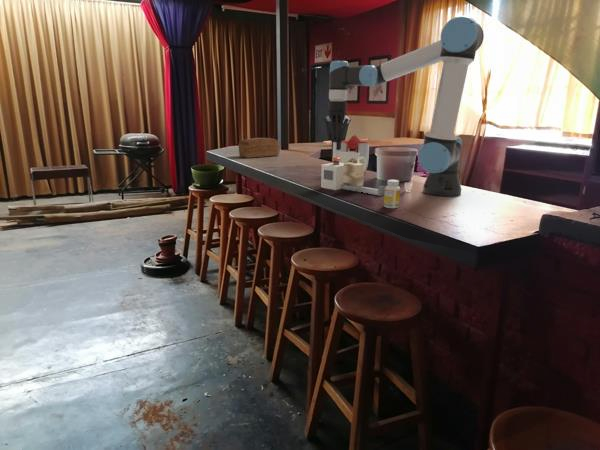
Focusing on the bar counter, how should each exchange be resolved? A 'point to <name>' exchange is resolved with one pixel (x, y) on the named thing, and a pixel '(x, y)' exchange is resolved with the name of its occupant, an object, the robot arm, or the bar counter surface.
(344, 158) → the pitcher
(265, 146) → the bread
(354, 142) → the citrus juicer
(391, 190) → the supplement bottle
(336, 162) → the gauge button
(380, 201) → the bar counter surface
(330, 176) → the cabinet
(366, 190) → the rail
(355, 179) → the carriage
